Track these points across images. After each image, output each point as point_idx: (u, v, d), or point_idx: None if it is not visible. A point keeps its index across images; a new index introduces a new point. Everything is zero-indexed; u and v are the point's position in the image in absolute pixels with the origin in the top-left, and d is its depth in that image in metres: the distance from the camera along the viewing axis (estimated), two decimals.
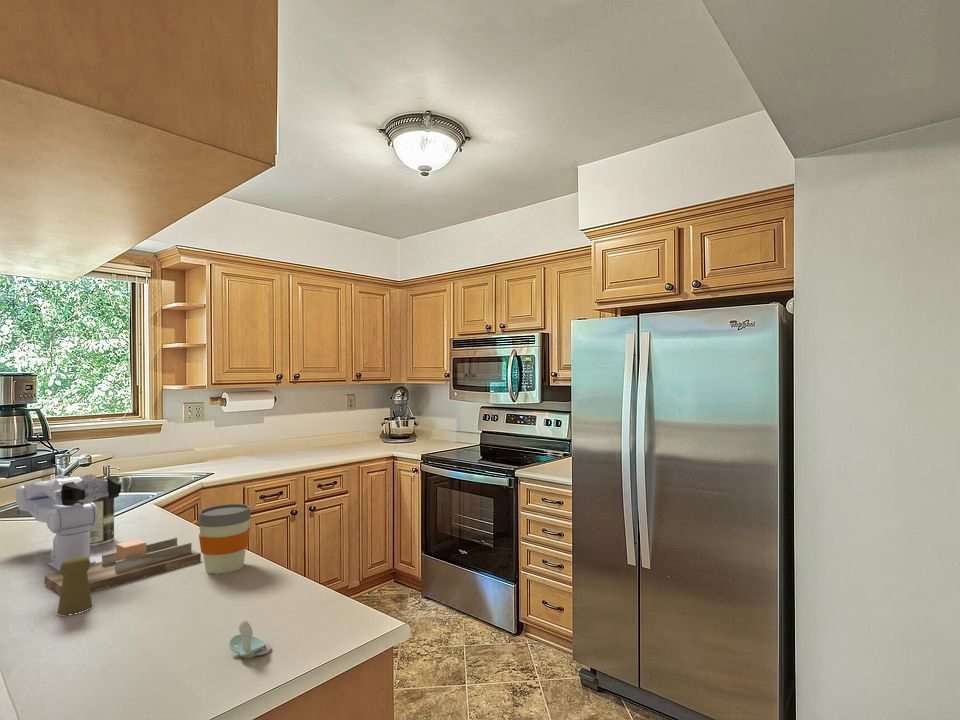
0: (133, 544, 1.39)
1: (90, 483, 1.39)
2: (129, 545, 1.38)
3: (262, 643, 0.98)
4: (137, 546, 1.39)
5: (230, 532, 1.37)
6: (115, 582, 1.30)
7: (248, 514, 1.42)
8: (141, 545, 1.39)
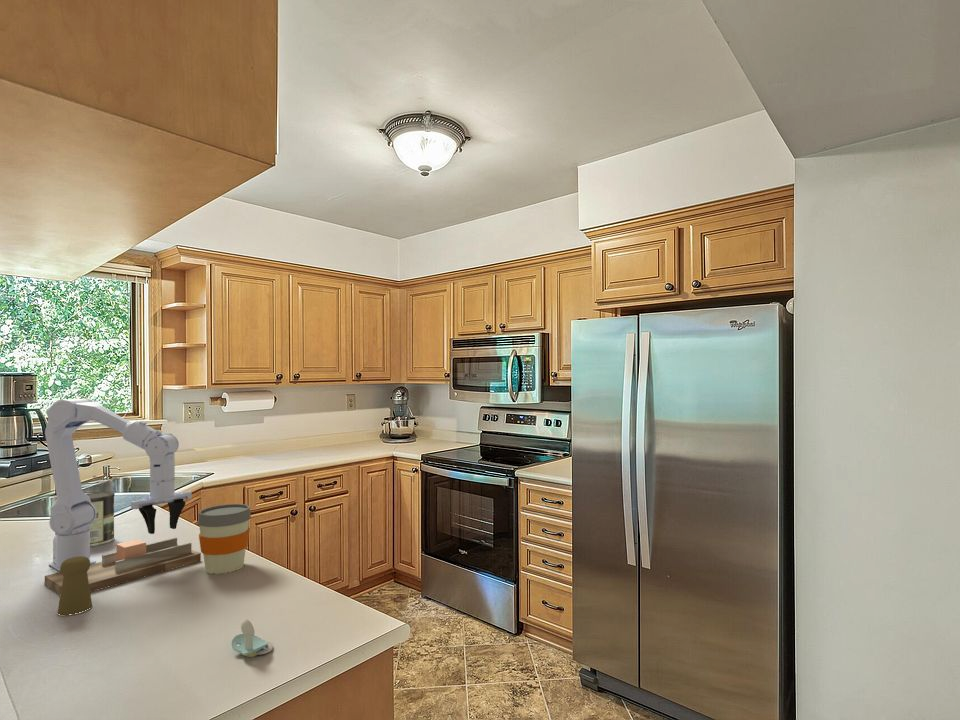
0: (133, 544, 1.39)
1: None
2: (129, 545, 1.38)
3: (264, 642, 0.99)
4: (137, 546, 1.39)
5: (230, 532, 1.37)
6: (115, 582, 1.30)
7: (248, 514, 1.42)
8: (141, 545, 1.39)
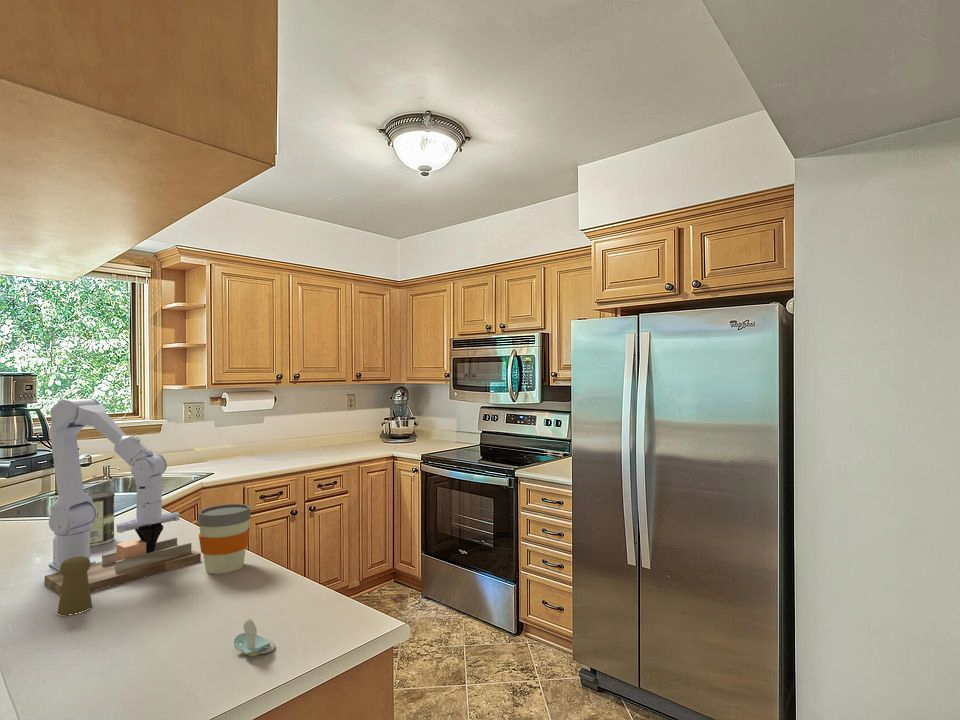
0: (133, 544, 1.39)
1: None
2: (129, 545, 1.38)
3: (266, 641, 0.99)
4: (137, 546, 1.39)
5: (230, 532, 1.37)
6: (115, 582, 1.30)
7: (248, 514, 1.42)
8: (141, 545, 1.39)
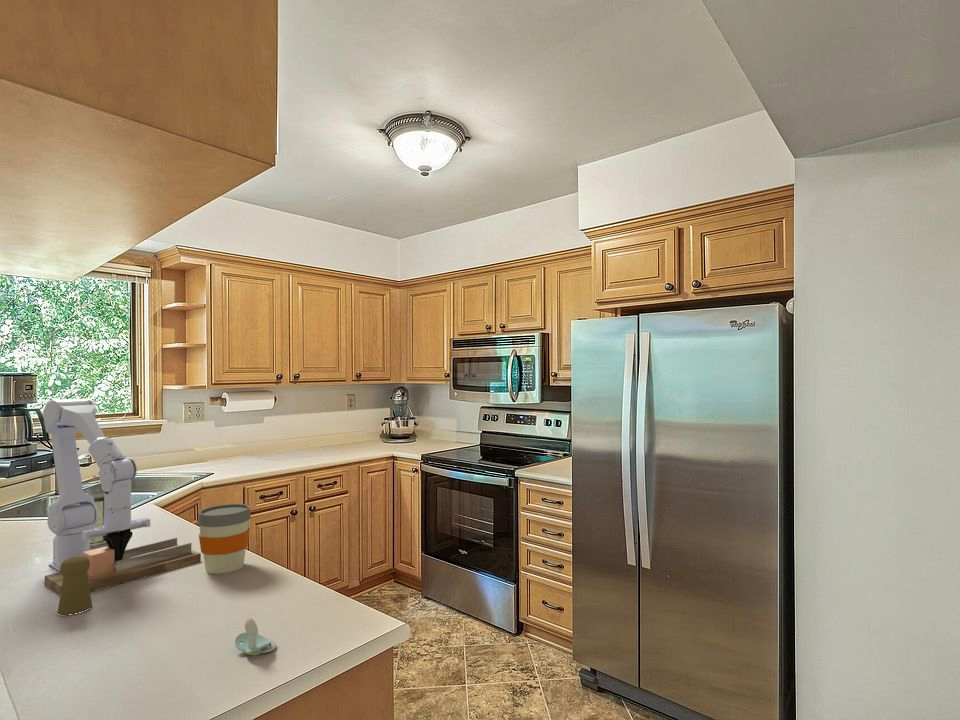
0: (100, 552, 1.33)
1: None
2: (96, 553, 1.32)
3: (267, 641, 0.99)
4: (104, 554, 1.33)
5: (230, 532, 1.37)
6: (115, 582, 1.30)
7: (248, 514, 1.42)
8: (109, 553, 1.34)
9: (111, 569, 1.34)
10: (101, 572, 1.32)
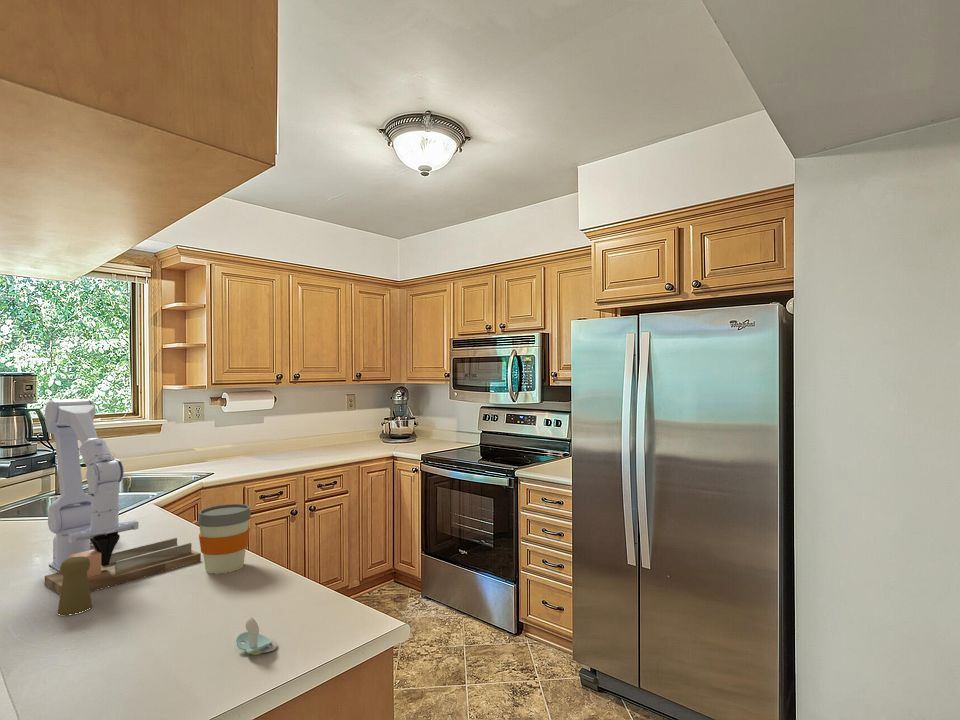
0: (87, 555, 1.31)
1: None
2: None
3: (268, 640, 0.99)
4: (90, 557, 1.30)
5: (230, 532, 1.37)
6: (115, 582, 1.30)
7: (248, 514, 1.42)
8: (95, 556, 1.31)
9: (98, 572, 1.32)
10: None
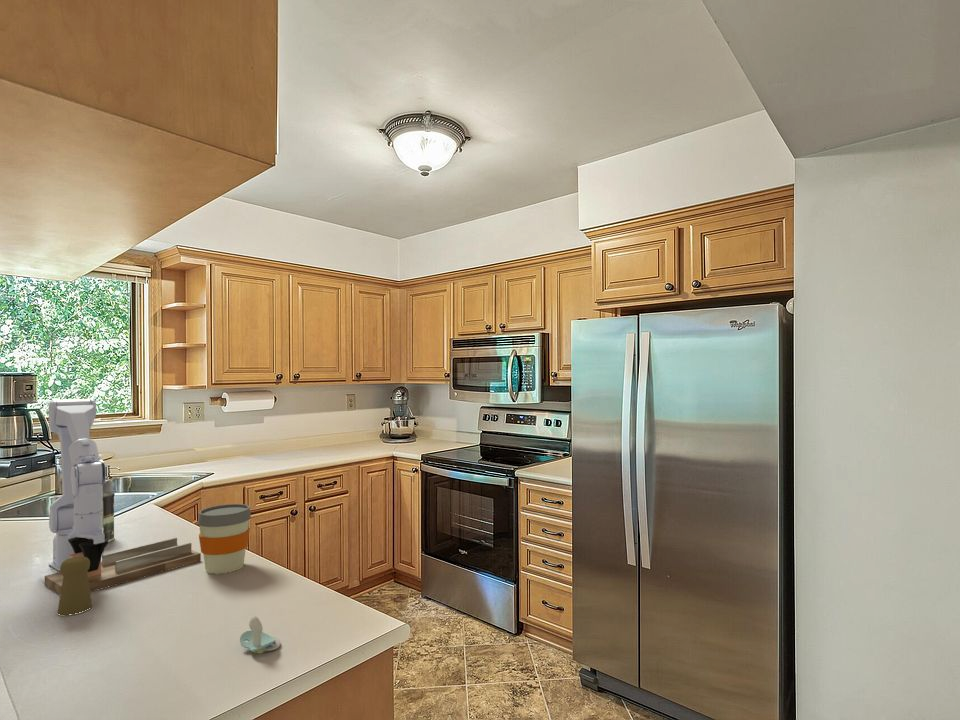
0: None
1: None
2: None
3: (272, 639, 1.00)
4: None
5: (230, 532, 1.37)
6: (115, 582, 1.30)
7: (248, 514, 1.42)
8: None
9: (98, 572, 1.32)
10: None
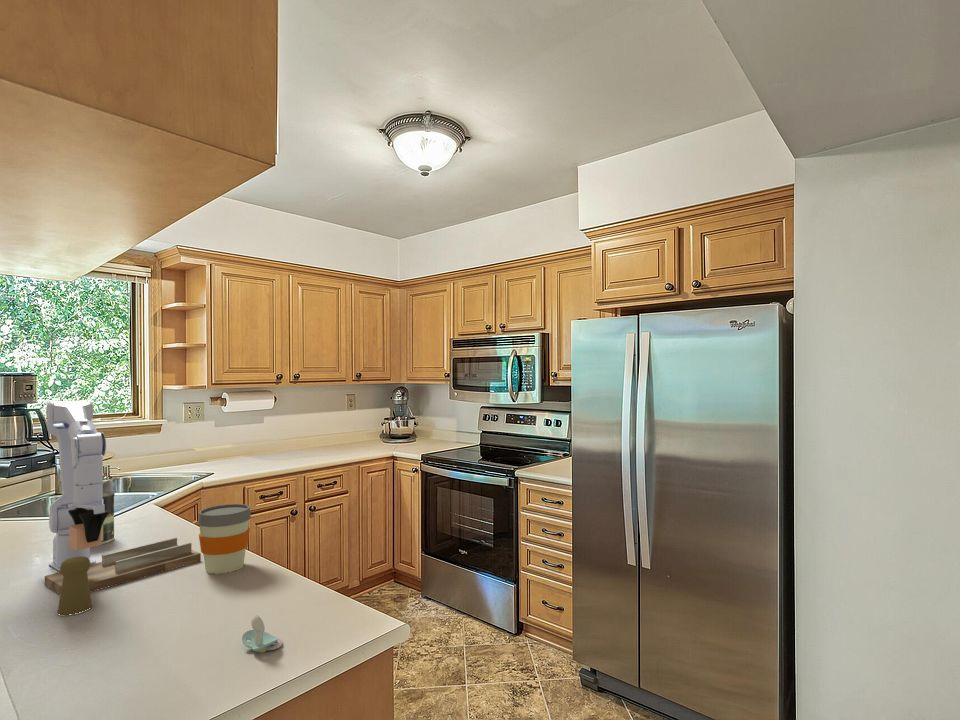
0: None
1: None
2: (82, 527, 1.30)
3: (274, 638, 1.00)
4: None
5: (230, 532, 1.37)
6: (115, 582, 1.30)
7: (248, 514, 1.42)
8: None
9: (98, 544, 1.32)
10: (87, 546, 1.30)
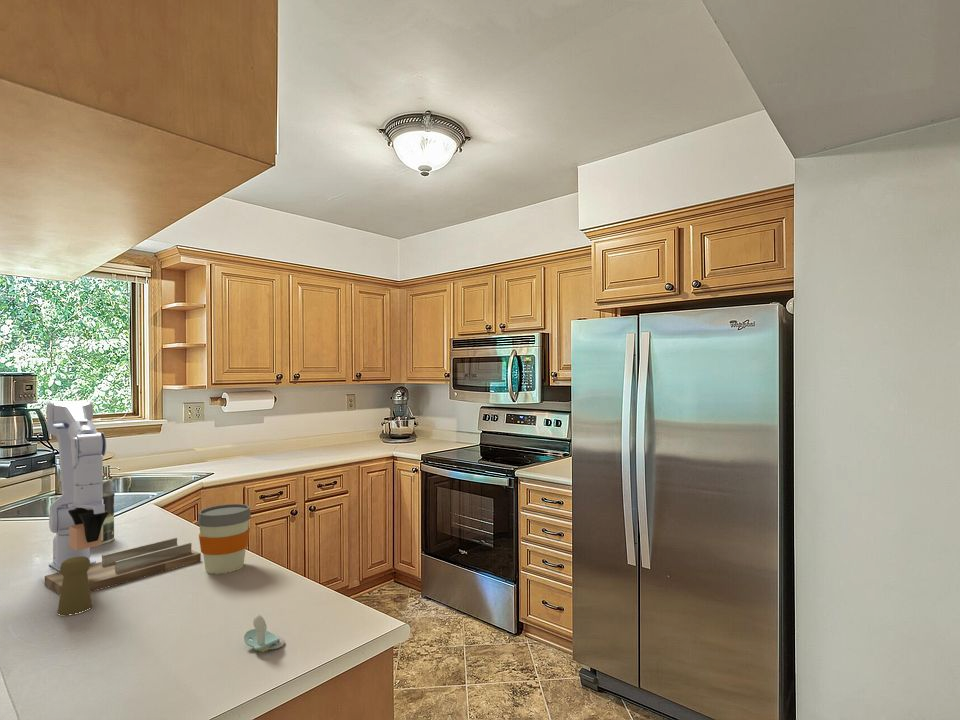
0: None
1: None
2: (82, 527, 1.30)
3: (276, 637, 1.00)
4: None
5: (230, 532, 1.37)
6: (115, 582, 1.30)
7: (248, 514, 1.42)
8: None
9: (98, 544, 1.32)
10: (87, 546, 1.30)
